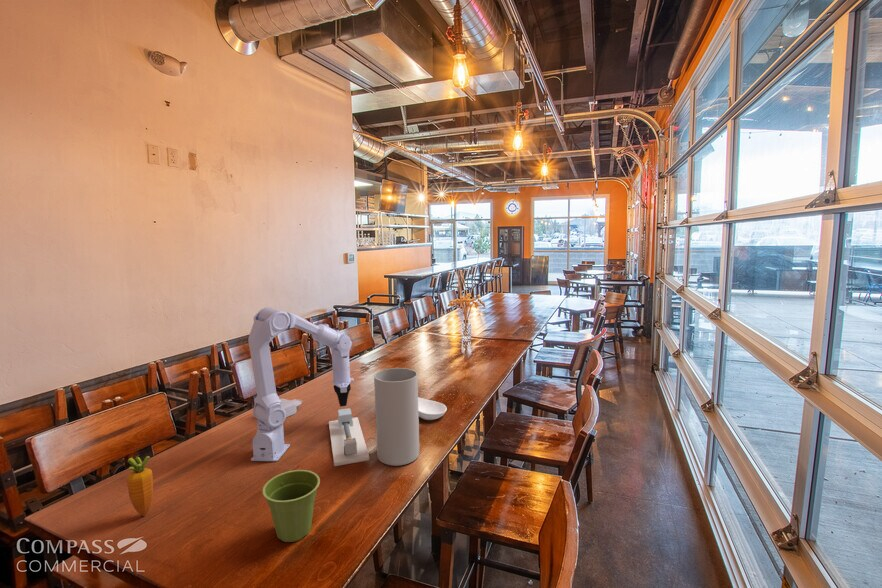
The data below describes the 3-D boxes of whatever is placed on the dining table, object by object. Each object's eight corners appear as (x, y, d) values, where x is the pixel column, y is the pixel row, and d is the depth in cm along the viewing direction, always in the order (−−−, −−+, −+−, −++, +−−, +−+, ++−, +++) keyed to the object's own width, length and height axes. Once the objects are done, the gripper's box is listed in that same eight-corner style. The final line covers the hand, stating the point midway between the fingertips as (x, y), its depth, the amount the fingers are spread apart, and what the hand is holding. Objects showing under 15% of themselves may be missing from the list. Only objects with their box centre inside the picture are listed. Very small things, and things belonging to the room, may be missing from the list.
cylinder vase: (373, 449, 128) (370, 371, 124) (412, 442, 132) (410, 366, 129) (382, 470, 116) (379, 384, 113) (425, 461, 120) (423, 378, 117)
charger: (309, 408, 160) (276, 423, 148) (293, 403, 165) (260, 417, 153) (309, 396, 160) (275, 410, 147) (293, 392, 165) (259, 405, 152)
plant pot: (274, 560, 84) (270, 508, 83) (260, 528, 94) (256, 481, 92) (330, 535, 91) (327, 487, 90) (312, 507, 101) (309, 463, 99)
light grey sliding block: (352, 426, 136) (352, 413, 136) (339, 428, 135) (338, 415, 135) (351, 419, 141) (350, 408, 141) (338, 421, 140) (337, 409, 139)
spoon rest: (450, 412, 155) (450, 393, 154) (441, 425, 144) (441, 406, 143) (391, 406, 162) (390, 388, 161) (378, 418, 150) (378, 399, 149)
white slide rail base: (369, 460, 122) (368, 442, 121) (334, 466, 119) (333, 447, 118) (357, 419, 149) (357, 404, 148) (328, 424, 146) (328, 408, 145)
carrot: (161, 508, 101) (155, 450, 99) (148, 522, 96) (140, 461, 94) (140, 509, 101) (133, 451, 99) (126, 523, 96) (118, 462, 94)
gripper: (355, 372, 137) (357, 411, 139) (350, 360, 151) (352, 396, 153) (333, 375, 135) (335, 415, 137) (330, 362, 149) (332, 399, 151)
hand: (343, 405), depth 145 cm, fingers closed
